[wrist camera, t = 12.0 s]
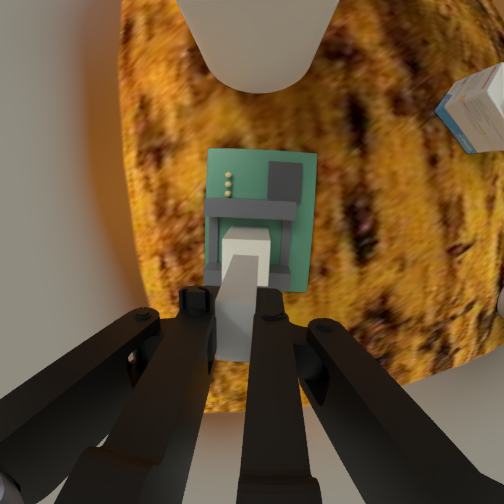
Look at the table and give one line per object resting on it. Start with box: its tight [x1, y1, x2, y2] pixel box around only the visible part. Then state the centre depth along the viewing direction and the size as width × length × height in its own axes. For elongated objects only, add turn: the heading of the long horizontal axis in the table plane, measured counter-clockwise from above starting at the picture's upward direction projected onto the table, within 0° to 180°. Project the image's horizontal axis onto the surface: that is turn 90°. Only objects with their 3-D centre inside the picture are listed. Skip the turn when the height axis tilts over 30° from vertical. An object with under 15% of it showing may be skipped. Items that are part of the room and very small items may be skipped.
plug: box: [222, 226, 271, 286], centre depth 27 cm, size 4×4×8 cm
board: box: [204, 148, 317, 292], centre depth 30 cm, size 16×12×5 cm
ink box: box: [435, 62, 504, 154], centre depth 21 cm, size 9×8×13 cm
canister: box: [176, 0, 339, 93], centre depth 17 cm, size 14×14×20 cm
